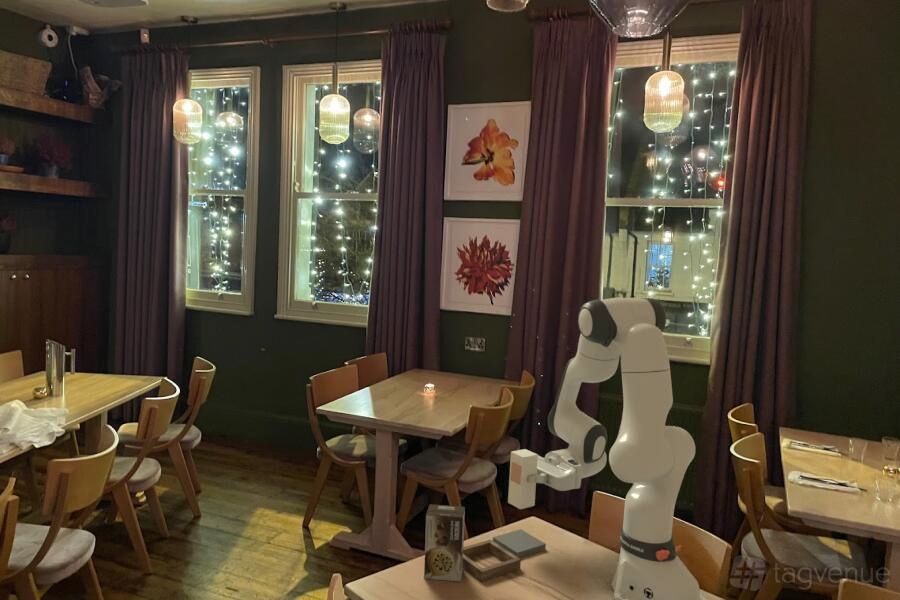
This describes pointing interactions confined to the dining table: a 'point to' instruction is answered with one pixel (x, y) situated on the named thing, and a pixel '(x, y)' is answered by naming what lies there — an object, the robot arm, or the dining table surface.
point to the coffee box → (444, 542)
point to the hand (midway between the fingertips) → (520, 475)
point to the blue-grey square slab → (519, 543)
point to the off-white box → (522, 478)
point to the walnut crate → (495, 570)
